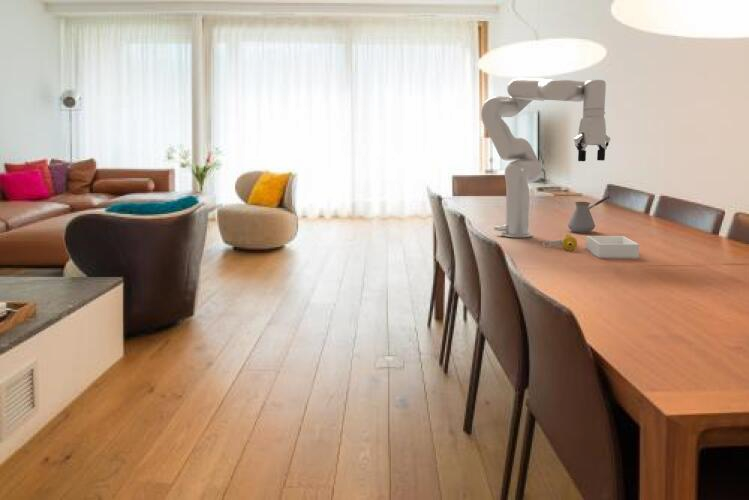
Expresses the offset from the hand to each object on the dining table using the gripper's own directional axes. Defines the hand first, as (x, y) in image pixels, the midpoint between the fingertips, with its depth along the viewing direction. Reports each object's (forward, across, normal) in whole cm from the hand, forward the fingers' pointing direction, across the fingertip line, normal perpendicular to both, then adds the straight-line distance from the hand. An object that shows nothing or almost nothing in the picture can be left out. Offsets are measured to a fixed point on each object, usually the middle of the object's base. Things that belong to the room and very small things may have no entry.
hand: (591, 160), depth 230 cm
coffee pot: (+32, -27, -26) cm, 50 cm away
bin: (+33, +5, +16) cm, 37 cm away
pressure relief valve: (+33, +14, 0) cm, 36 cm away
